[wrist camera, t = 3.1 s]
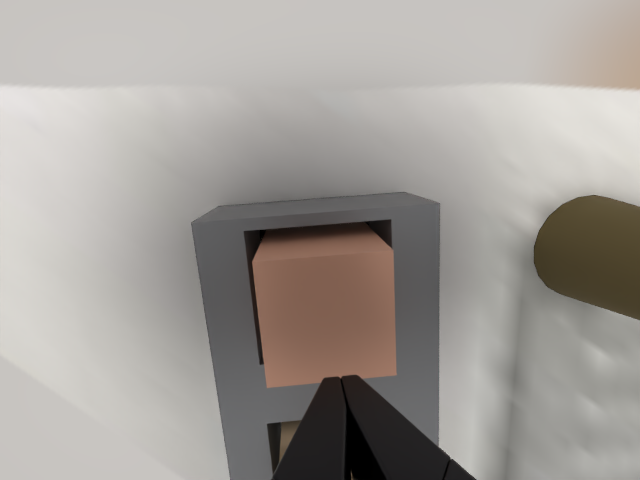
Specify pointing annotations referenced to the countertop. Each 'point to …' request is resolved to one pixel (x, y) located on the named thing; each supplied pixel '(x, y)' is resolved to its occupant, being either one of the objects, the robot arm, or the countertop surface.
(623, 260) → the olive brown cylinder
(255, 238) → the grey socket block
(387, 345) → the terracotta key
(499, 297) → the countertop surface
